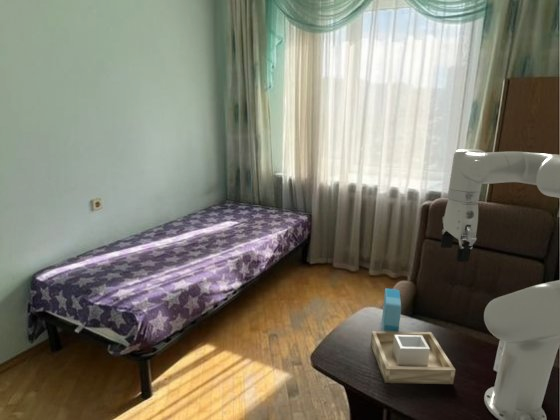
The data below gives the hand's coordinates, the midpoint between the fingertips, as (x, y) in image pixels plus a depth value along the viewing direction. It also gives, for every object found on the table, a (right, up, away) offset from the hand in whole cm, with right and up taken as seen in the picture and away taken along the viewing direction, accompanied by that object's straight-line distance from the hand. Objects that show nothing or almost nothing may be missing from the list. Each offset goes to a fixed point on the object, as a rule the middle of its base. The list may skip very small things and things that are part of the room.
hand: (453, 254), depth 100 cm
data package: (-13, -27, +17) cm, 34 cm away
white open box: (-12, -30, +1) cm, 33 cm away
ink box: (+14, -33, -4) cm, 36 cm away
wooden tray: (-12, -31, +1) cm, 34 cm away
